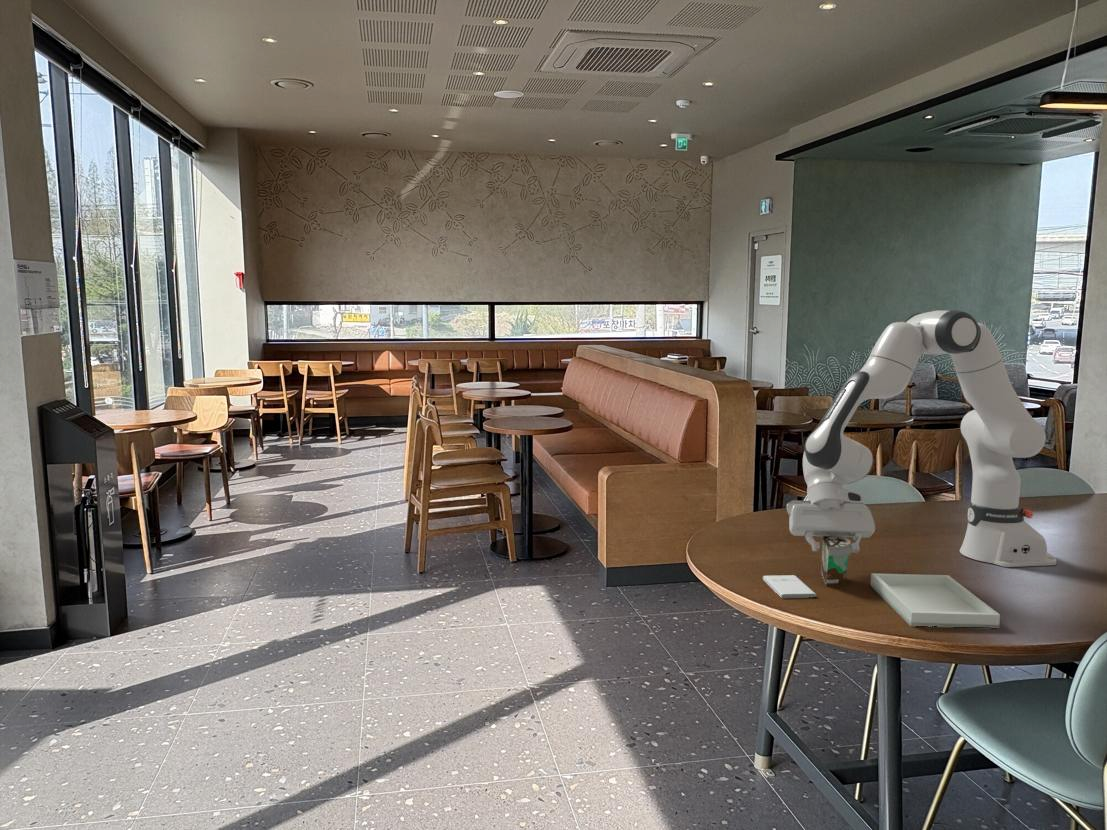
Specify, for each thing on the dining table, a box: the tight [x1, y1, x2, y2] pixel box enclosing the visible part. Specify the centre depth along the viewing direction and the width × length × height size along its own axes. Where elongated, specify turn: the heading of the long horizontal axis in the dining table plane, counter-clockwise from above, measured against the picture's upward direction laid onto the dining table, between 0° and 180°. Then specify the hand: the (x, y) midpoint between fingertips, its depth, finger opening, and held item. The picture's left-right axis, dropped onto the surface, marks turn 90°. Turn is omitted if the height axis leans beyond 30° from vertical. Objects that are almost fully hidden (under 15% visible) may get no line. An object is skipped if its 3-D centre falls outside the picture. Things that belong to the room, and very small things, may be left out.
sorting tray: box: [870, 572, 1001, 629], centre depth 178 cm, size 18×24×3 cm
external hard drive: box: [762, 574, 817, 599], centre depth 188 cm, size 2×8×12 cm
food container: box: [820, 533, 853, 587], centre depth 193 cm, size 12×6×10 cm, turn 168°
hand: (836, 550), depth 193 cm, fingers open, 8 cm apart
